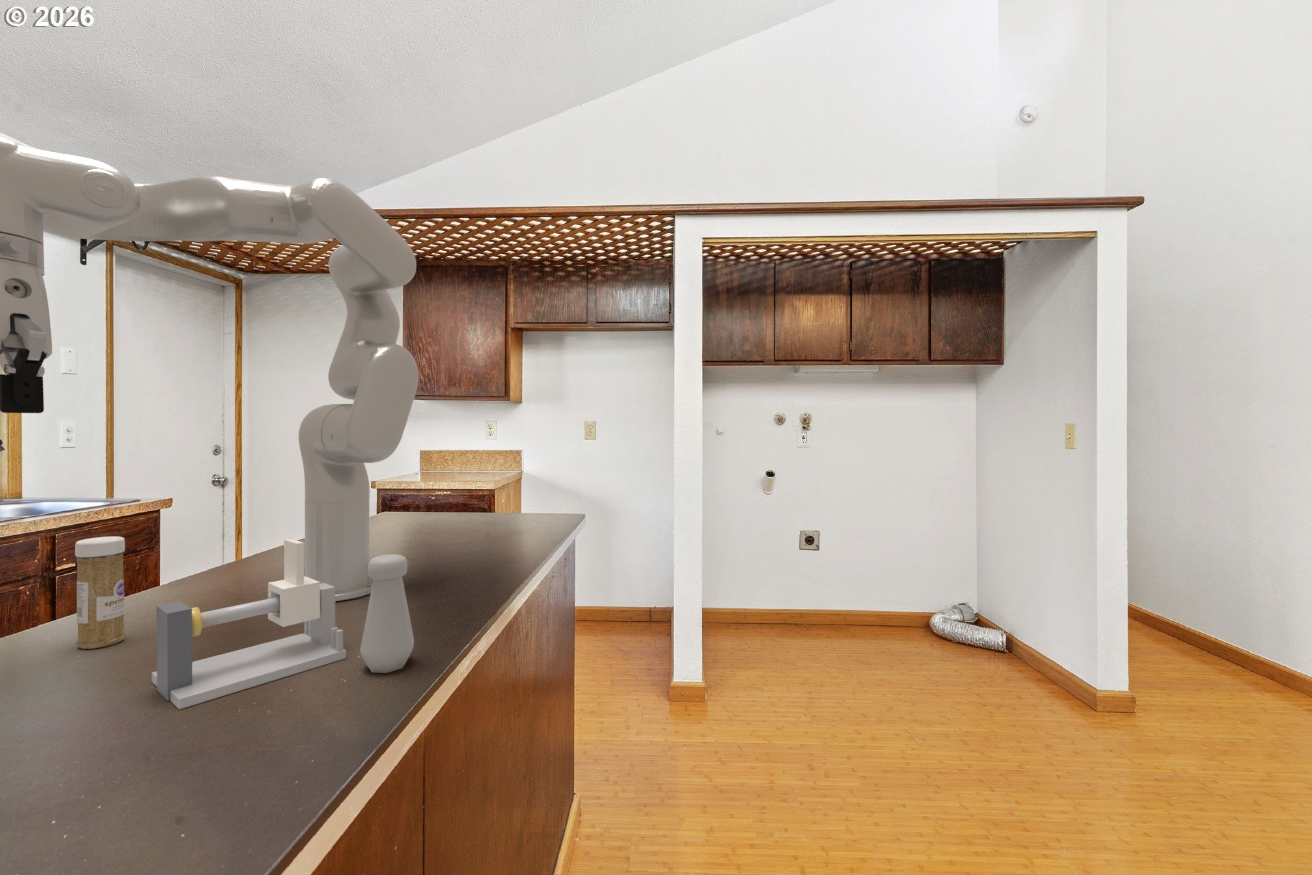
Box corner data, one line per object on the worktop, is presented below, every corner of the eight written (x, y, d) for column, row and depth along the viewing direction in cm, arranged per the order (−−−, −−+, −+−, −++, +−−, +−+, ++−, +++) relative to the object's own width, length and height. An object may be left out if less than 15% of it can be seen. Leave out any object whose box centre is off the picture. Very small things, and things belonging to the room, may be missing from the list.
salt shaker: (362, 659, 69) (362, 552, 69) (413, 652, 71) (414, 549, 71) (358, 679, 64) (358, 563, 63) (414, 671, 66) (414, 559, 66)
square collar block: (304, 610, 72) (304, 536, 72) (319, 617, 70) (319, 541, 69) (268, 618, 69) (267, 541, 69) (282, 626, 66) (282, 546, 66)
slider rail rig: (312, 638, 76) (312, 570, 76) (348, 657, 70) (348, 583, 70) (149, 682, 62) (148, 600, 62) (176, 710, 56) (176, 619, 56)
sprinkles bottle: (121, 645, 73) (120, 540, 72) (70, 652, 70) (70, 543, 70) (129, 634, 76) (128, 534, 76) (81, 640, 74) (80, 537, 74)
